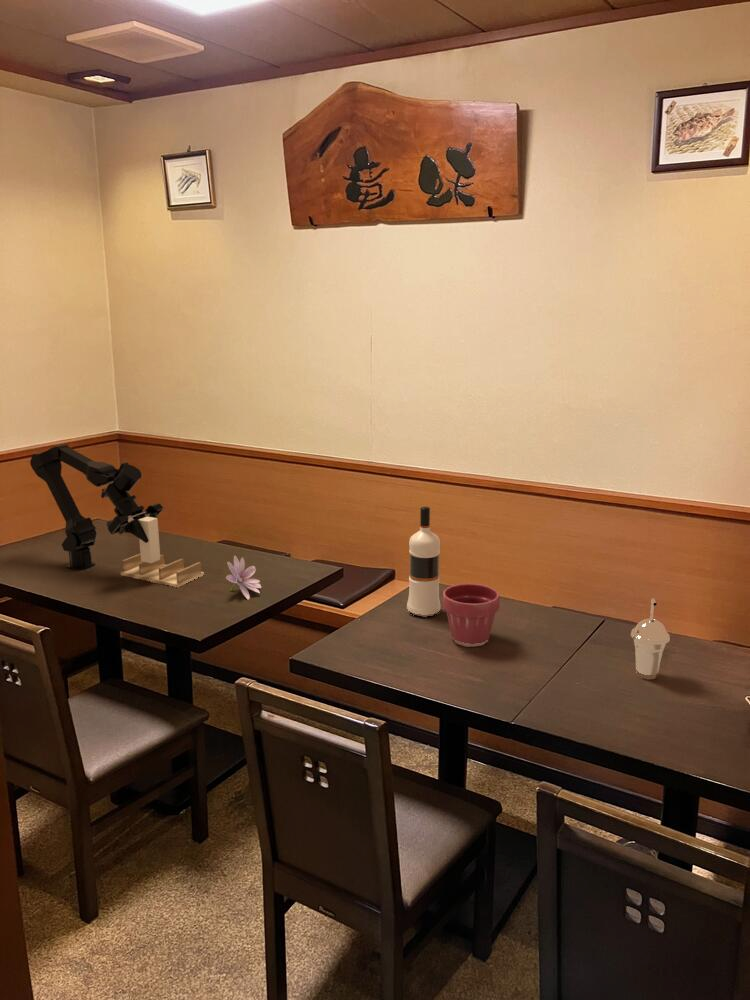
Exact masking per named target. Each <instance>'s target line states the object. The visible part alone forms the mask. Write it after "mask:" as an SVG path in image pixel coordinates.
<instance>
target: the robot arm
mask: <svg viewBox="0 0 750 1000" xmlns="http://www.w3.org/2000/svg"><path fill="white" fill-rule="evenodd" d="M61 462H62V463H64V464H66V465H68V466H69V467H71V468H73V469H75V470H77V471H78V472H79V473H82V474H83V475H85V478H86V479H87V481H88V482H89V483H91V484H92V485H93V486H95V487H97V488H98V487H99V488H100V487H102V486H106V485H107V486H106V487H104V488H102V489H101V494H100V497H101V499H105V498H108V500H109V501H110V502H111V503H112V505H113V506H114V507H115V508H114V509H113V511H114V513H115V515H116V516H115V517H113V519H110V520H107V522H106V526H107V530H108V532H109V533H110V534H111V535H115V534H119V535H122V534H126V533H127V534H131V535H132V536H135V537H136V538H138V540H139V539H141V540H142V541H144V542H145V543H147V542H148V541H149V540H148V538H147V536H146V534H145V532H144V530H143V528H142V526H141V524H140V522H139V521H138V520H139V519H142V518H144V517H153V518H157V517H159V515H160V514H161V513H162V512H163V511H164V507H163V506H162V504H161V503H159V502H155V503H153V504H151V505H148V507H147V508H145V507H144V506H143V505H139V504H138V503H137V502H136V498H137V497H136V495H135V494H134V495H131V493H130V491H131V490H132V489H134V487H135V486H136V484H137V483H138V482H139V480H140V479H141V478H142V472H141V470H140V469H139V468H137V467H136V466H135V465H131V464H129V462H127V461H126V462H122V463H121V464H120V466H119V468H116V467H115V466H114V465H113V464H110V463H106V462H101V461H96V460H92V458H89V457H88V456H85V455H83V454H82V453H80V452H78V451H77V450H75V449H73V448H71V447H70V446H69V445H68V444H64V443H63V444H59V445H54V446H52V447H50V448H49V449H48V450H47V449H46V450H45V451H43V452H38V453H34V454H32V455H31V458H30V461H29V464H30V467H31V469H32V470H33V472H34V473H35V475H36V476H37V477H38V478H40V479H42V480H43V481H44V482H45V483H46V485H47V487H48V488H49V491H50V492H51V495H52V497H53V499H54V501H55V502H56V503H55V504H56V505H57V507H58V508H59V511H60V513H61V516H62V517H63V519H64V520H65V529H64V532H65V536H66V538H65V539H64V541H63V542H62V543H61V547H62V549H63V551H65V552H68V557H69V564H66V565H65V566H66V568H69V569H73V570H76V571H82V570H84V569H87V568H89V567H92V566H95V565H96V562H93V561H92V554H91V549H90V547H94V546H95V543H96V542H95V541H96V538H97V537H96V536H97V531H96V529H97V528H96V526H95V525H94V523H93V521H92V519H91V518H90V517H84V516H83V515H82V514H81V512H80V510H79V508H78V507H77V504H76V502H75V500H74V498H73V496H72V494H71V492H70V490H69V488H68V486H67V484H66V483H65V480H64V478H63V476H62V468H63V465H62V463H61ZM144 509H145V510H144Z"/></svg>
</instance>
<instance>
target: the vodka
mask: <svg viewBox="0 0 750 1000" xmlns="http://www.w3.org/2000/svg"><path fill="white" fill-rule="evenodd" d="M419 510H420V512H419V514H420V517H419V519H420V521H419V526H420V527H419V530H418V531H417V532H415V533H414V534H412V535H411V536H410V537H409V541H408V545H409V546H408V547H409V549H408V552H409V576H408V580H409V581H408V582H409V589H408V599H407V603H406V609H408V610H407V612H408V611H410V612H412V613H415V614H421V615H429V614H434V613H437V612H439V611H440V612H441V610H440V609H441V607H442V606H441V604H442V603H441V602H440V588H439V587H440V580H441V579H440V578H441V577H440V553H441V550H440V549H441V540H440V537H439V536H438V535H437V534H435V533H434V532H432V531H431V529H430V528H431V526H430V525H431V523H430V522H431V521H430V520H431V507H430V506H421V507H420V509H419ZM440 612H439V613H440Z"/></svg>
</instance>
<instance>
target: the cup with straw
mask: <svg viewBox="0 0 750 1000" xmlns="http://www.w3.org/2000/svg"><path fill="white" fill-rule="evenodd" d="M650 599H651V600H650V612H649V618H643V619H642V620H640V621H639V622H638V623H637V624H636V625H635V627H633V628H632V629H631V632H630V637H631V638H632V639H633V644H634V649H635V650H634V652H635V653H634V654H635V671H636V670H637V671H638V672H639V673H641V674H644V675H655V674H657V673H658V674H659V669H660V665H661V659H662V658H663V657H662V656H663V652H664V650H665V647H666V644H668V643H669V642H670V639H671V638H670V637H671V636H670V634H669V633H668V632H667V630H666V627H665V625H664V624H663V623H662V622H661V621H659V620H657V619H655V618H654V612H655V611H654V609H655V606H656V607H657V605H658V604H657V602H656V600H655V598H653V597H652V598H650ZM637 671H636V672H637ZM658 674H657V675H658Z"/></svg>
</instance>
